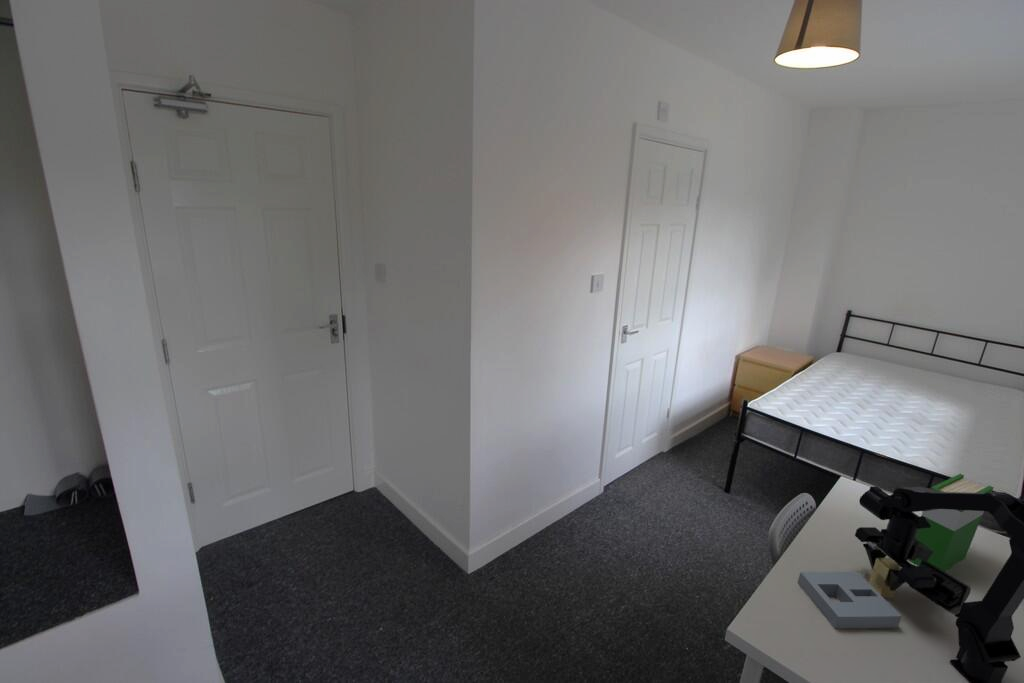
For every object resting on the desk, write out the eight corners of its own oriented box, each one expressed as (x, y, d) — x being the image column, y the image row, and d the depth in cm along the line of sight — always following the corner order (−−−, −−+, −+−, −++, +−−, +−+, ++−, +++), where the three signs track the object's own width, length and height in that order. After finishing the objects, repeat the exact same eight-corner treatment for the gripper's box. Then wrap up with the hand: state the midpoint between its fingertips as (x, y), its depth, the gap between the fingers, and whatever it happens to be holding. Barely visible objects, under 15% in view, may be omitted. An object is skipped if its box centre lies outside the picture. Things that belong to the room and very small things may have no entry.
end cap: (965, 605, 121) (974, 583, 119) (950, 613, 119) (959, 591, 117) (920, 577, 130) (928, 557, 128) (905, 584, 127) (913, 563, 125)
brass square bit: (893, 597, 122) (903, 569, 120) (879, 597, 122) (889, 569, 120) (881, 585, 126) (890, 557, 124) (867, 585, 126) (876, 557, 123)
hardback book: (934, 541, 145) (960, 473, 138) (965, 557, 139) (993, 487, 132) (905, 558, 137) (931, 487, 130) (936, 576, 131) (965, 502, 124)
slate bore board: (897, 627, 113) (901, 616, 112) (834, 628, 112) (838, 616, 111) (853, 582, 127) (857, 571, 126) (797, 582, 126) (800, 571, 125)
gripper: (966, 559, 111) (945, 611, 115) (899, 509, 128) (883, 556, 133) (922, 559, 110) (902, 612, 114) (861, 508, 128) (846, 556, 132)
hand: (883, 582), depth 123 cm, fingers open, 5 cm apart
